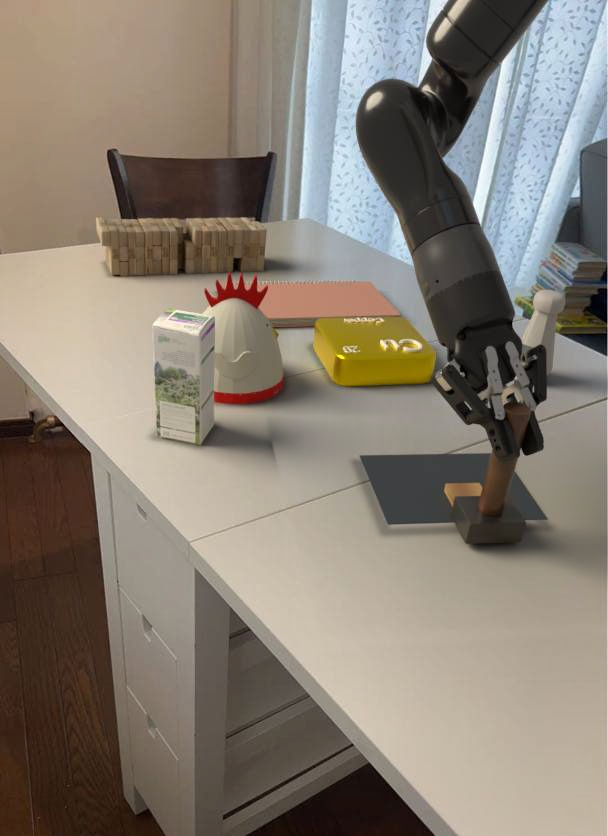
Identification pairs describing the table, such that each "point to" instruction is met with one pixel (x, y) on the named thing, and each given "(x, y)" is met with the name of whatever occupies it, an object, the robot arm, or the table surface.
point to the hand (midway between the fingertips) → (522, 455)
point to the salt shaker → (544, 322)
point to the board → (433, 485)
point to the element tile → (373, 351)
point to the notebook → (320, 301)
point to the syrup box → (184, 375)
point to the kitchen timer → (243, 345)
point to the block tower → (182, 245)
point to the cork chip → (462, 490)
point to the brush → (494, 494)
